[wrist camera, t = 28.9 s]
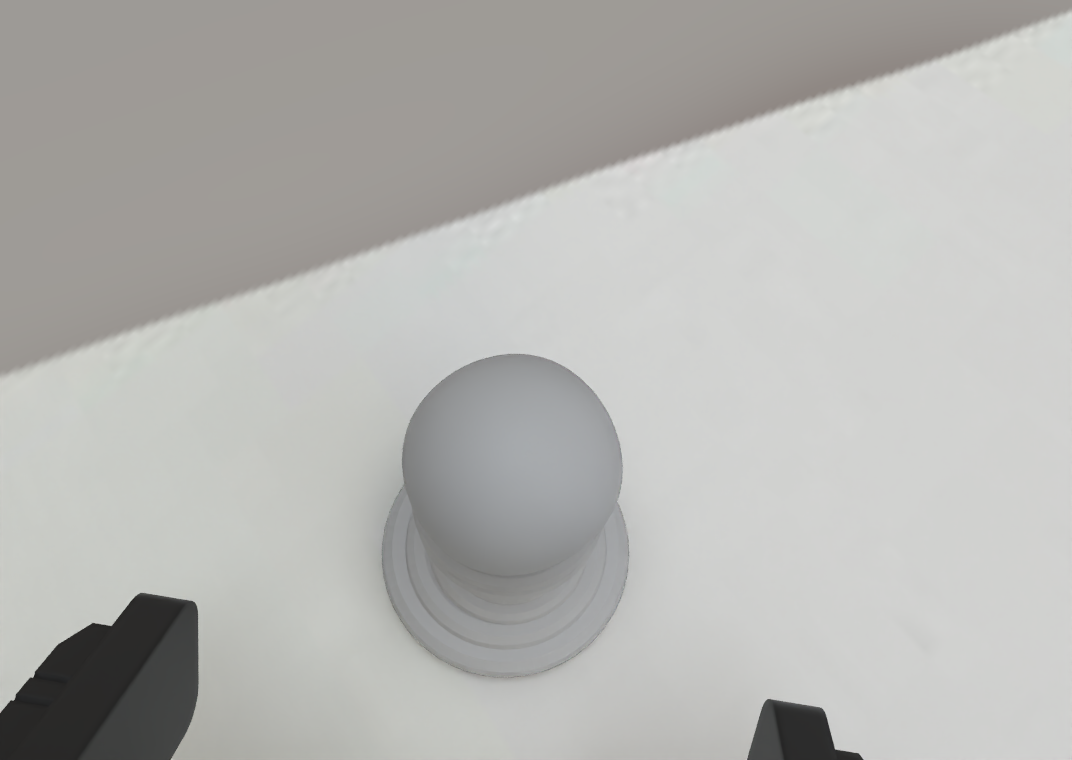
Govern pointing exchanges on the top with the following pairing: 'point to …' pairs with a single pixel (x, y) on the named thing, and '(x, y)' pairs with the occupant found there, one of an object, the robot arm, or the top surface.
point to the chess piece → (507, 518)
